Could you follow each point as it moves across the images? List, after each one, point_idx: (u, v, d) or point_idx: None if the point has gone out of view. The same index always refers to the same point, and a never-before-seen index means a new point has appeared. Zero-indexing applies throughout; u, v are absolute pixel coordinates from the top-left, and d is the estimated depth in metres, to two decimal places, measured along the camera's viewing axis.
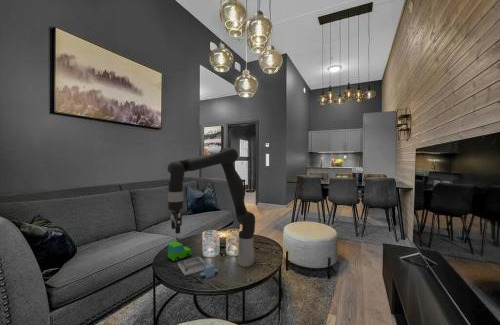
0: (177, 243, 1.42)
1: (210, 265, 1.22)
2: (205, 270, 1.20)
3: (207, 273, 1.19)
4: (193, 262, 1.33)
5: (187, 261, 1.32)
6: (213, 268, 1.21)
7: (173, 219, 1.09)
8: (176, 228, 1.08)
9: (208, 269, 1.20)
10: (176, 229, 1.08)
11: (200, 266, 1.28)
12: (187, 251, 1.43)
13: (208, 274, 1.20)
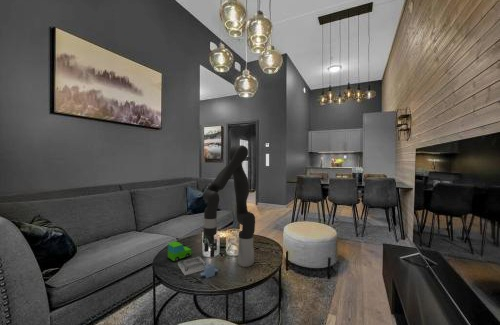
0: (177, 243, 1.42)
1: (210, 265, 1.22)
2: (205, 270, 1.20)
3: (207, 273, 1.19)
4: (193, 262, 1.33)
5: (187, 261, 1.32)
6: (213, 268, 1.21)
7: (208, 244, 1.19)
8: (211, 252, 1.17)
9: (208, 269, 1.20)
10: (211, 253, 1.17)
11: (200, 266, 1.28)
12: (187, 251, 1.43)
13: (208, 274, 1.20)
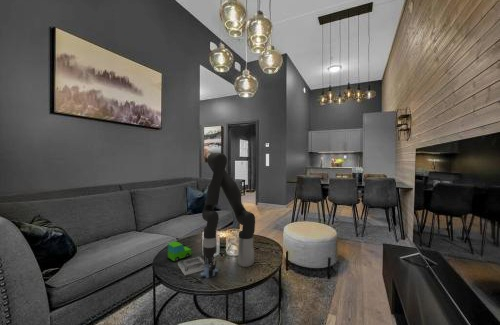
0: (177, 243, 1.42)
1: None
2: (205, 270, 1.20)
3: (207, 273, 1.19)
4: (193, 262, 1.33)
5: (187, 261, 1.32)
6: None
7: (207, 263, 1.20)
8: (209, 272, 1.20)
9: (208, 269, 1.20)
10: (209, 273, 1.20)
11: (200, 266, 1.28)
12: (187, 251, 1.43)
13: (208, 274, 1.20)
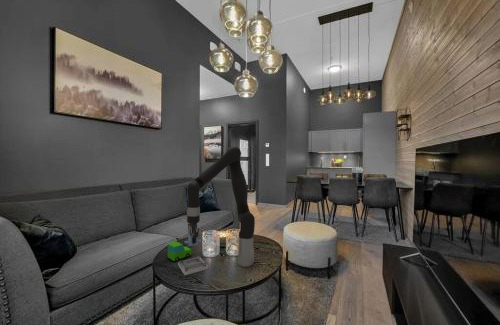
0: (177, 243, 1.42)
1: None
2: (189, 238, 1.29)
3: (191, 241, 1.28)
4: (193, 262, 1.33)
5: (187, 261, 1.32)
6: (197, 238, 1.30)
7: (191, 231, 1.28)
8: (193, 239, 1.28)
9: None
10: (193, 240, 1.28)
11: (200, 266, 1.28)
12: (187, 251, 1.43)
13: (191, 242, 1.28)
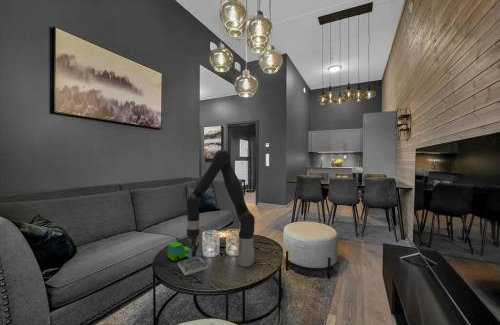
0: (177, 243, 1.42)
1: None
2: (190, 252, 1.29)
3: (191, 255, 1.29)
4: (193, 262, 1.33)
5: (187, 261, 1.32)
6: (197, 251, 1.31)
7: (190, 244, 1.29)
8: (192, 252, 1.28)
9: None
10: (192, 253, 1.28)
11: (200, 266, 1.28)
12: (187, 251, 1.43)
13: None
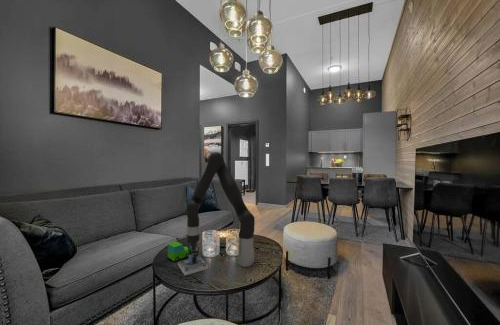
0: (177, 243, 1.42)
1: None
2: (189, 258, 1.29)
3: (191, 261, 1.29)
4: None
5: None
6: (197, 257, 1.31)
7: (191, 250, 1.28)
8: (193, 258, 1.28)
9: (192, 257, 1.29)
10: (193, 259, 1.28)
11: (200, 266, 1.28)
12: (187, 251, 1.43)
13: (192, 262, 1.29)
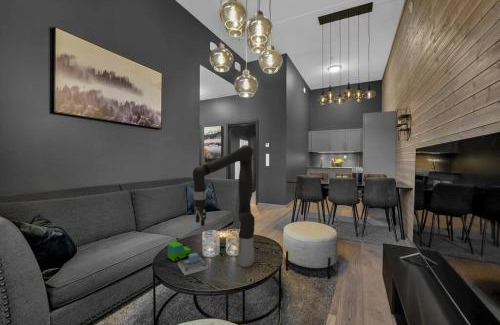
0: (177, 243, 1.42)
1: (194, 254, 1.32)
2: (189, 258, 1.29)
3: (191, 261, 1.29)
4: None
5: None
6: (197, 257, 1.31)
7: (198, 214, 1.32)
8: (201, 221, 1.31)
9: (192, 257, 1.29)
10: (201, 222, 1.31)
11: (200, 266, 1.28)
12: (187, 251, 1.43)
13: (192, 262, 1.29)
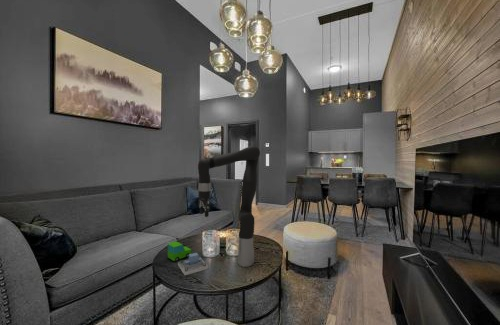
0: (177, 243, 1.42)
1: (194, 254, 1.32)
2: (189, 258, 1.29)
3: (191, 261, 1.29)
4: None
5: None
6: (197, 257, 1.31)
7: (203, 205, 1.34)
8: (205, 212, 1.33)
9: (192, 257, 1.29)
10: (205, 213, 1.33)
11: (200, 266, 1.28)
12: (187, 251, 1.43)
13: (192, 262, 1.29)
